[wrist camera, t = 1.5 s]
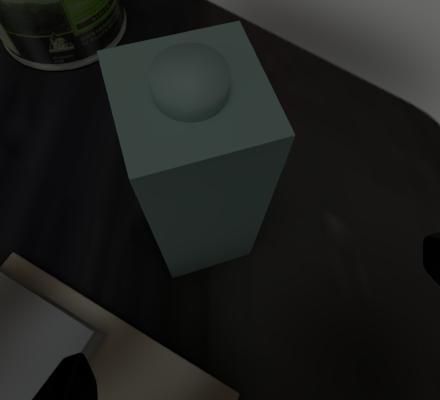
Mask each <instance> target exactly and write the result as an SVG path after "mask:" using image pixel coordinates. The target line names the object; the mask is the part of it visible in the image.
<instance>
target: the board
mask: <svg viewBox="0 0 440 400" xmlns="http://www.w3.org/2000/svg"><path fill="white" fill-rule="evenodd" d="M79 352H81V353H83V354H84V355H85V357H86V359H87V361H88V363H89V365H90V367H91V369H92V372H93V374H94V376H95V378H96V382H97V391H98V400H238V397H239V395H240V394H239V393H238V392H237V391H235V390H234V389H232V388H230V387H229V386H227V385H226V384H224V383H222V382H221V381H219V380H218V379H216V378H214V377H213V376H211V375H210V374H208V373H206V372H205V371H203V370H202V369H200V368H198V367H197V366H195V365H194V364H192V363H190V362H189V361H187V360H186V359H184V358H182V357H181V356H179V355H178V354H176V353H174V352H173V351H171V350H170V349H168V348H166V347H165V346H163V345H162V344H160V343H158V342H157V341H155V340H154V339H152V338H150V337H149V336H147V335H146V334H144V333H142V332H141V331H139V330H138V329H136V328H134V327H133V326H131V325H130V324H128V323H126V322H125V321H123V320H122V319H120V318H118V317H117V316H115V315H114V314H112V313H110V312H109V311H107V310H106V309H104V308H102V307H101V306H99V305H98V304H96V303H94V302H93V301H91V300H90V299H88V298H86V297H85V296H83V295H82V294H80V293H78V292H77V291H75V290H74V289H72V288H70V287H69V286H67V285H66V284H64V283H62V282H61V281H59V280H58V279H56V278H54V277H53V276H51V275H50V274H48V273H46V272H45V271H43V270H42V269H40V268H38V267H37V266H35V265H34V264H32V263H31V262H29V261H27V260H26V259H24V258H22V257H21V256H19V255H17V254H15V253H12V254H11V255H10V256H9V258H8V259H7V260H6V261H5V262H4V264H3V265H2V266H1V267H0V400H32V399H33V397H34V396H35V395H36V394H37V392H38V391H39V390H40V388H41V387H42V386H43V384H44V383H45V382H46V380H47V379H48V378H49V376H50V375H51V374H52V372H53V371H54V370H55V368H56V367H57V366H58V364H59V363H60V362H61V360H62V359H63V358H65V357H67V356H70V355H73V354H76V353H79Z"/></svg>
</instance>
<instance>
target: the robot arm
mask: <svg viewBox="0 0 440 400" xmlns="http://www.w3.org/2000/svg"><path fill="white" fill-rule="evenodd" d="M423 265H424V268H425V270H426V271H427V273H428V274H429V275H430V276H431V277H432V278H433V279H434V280H435V281H436V282H437V283H438V284H439V285H440V232H439V233H435V234H432V235H429V236H427V237H425V239H424V241H423ZM32 400H98V391H97V382H96V378H95V376H94V374H93V372H92V369H91V367H90V365H89V363H88V361H87V359H86V357H85V355H84V354H83V353H81V352H79V353H76V354H73V355H70V356H67V357H65V358H63V359H62V360H61V362H60V363H59V364H58V366H57V367H56V368H55V370H54V371H53V372H52V374H51V375H50V376H49V378H48V379H47V380H46V382H45V383H44V384H43V386H42V387H41V388H40V390H39V391H38V392H37V394H36V395H35V396H34V397H33V399H32Z"/></svg>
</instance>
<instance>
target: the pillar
mask: <svg viewBox="0 0 440 400" xmlns="http://www.w3.org/2000/svg"><path fill="white" fill-rule="evenodd" d="M97 54H98V58H99V62H100V66H101V70H102V74H103V78H104V82H105V86H106V90H107V94H108V97H109V101H110V105H111V109H112V113H113V117H114V121H115V125H116V129H117V133H118V137H119V141H120V145H121V149H122V153H123V157H124V161H125V165H126V168H127V172H128V176H129V180H130V182H131V185H132V187H133V189H134V191H135V194H136V196H137V198H138V200H139V203H140V205H141V207H142V210H143V212H144V214H145V216H146V219H147V221H148V223H149V225H150V228H151V230H152V232H153V234H154V237H155V239H156V241H157V244H158V246H159V248H160V250H161V253H162V255H163V257H164V259H165V262H166V264H167V266H168V268H169V271H170V273H171V275H172V277H173V278H175V277H178V276H181V275H185V274H188V273H191V272H194V271H197V270H200V269H204V268H207V267H210V266H213V265H216V264H219V263H223V262H226V261H229V260H232V259H235V258H238V257H242V256H245V255H248V254H250V253H251V250H252V247H253V245H254V242H255V240H256V237H257V234H258V232H259V229H260V226H261V224H262V221H263V219H264V216H265V213H266V211H267V208H268V205H269V203H270V200H271V198H272V195H273V192H274V190H275V187H276V184H277V182H278V179H279V177H280V174H281V171H282V169H283V166H284V163H285V161H286V158H287V156H288V153H289V150H290V148H291V145H292V142H293V140H294V137H295V134H294V132H293V130H292V128H291V126H290V124H289V121H288V119H287V117H286V115H285V113H284V111H283V109H282V107H281V105H280V103H279V101H278V99H277V97H276V95H275V93H274V91H273V89H272V87H271V84H270V82H269V80H268V78H267V76H266V74H265V72H264V70H263V68H262V66H261V64H260V62H259V60H258V58H257V56H256V54H255V52H254V50H253V47H252V45H251V43H250V41H249V39H248V37H247V35H246V33H245V31H244V29H243V27H242V25H241V23H240V21H236V22H232V23H227V24H222V25H217V26H213V27H208V28H203V29H198V30H194V31H189V32H184V33H179V34H175V35H170V36H165V37H160V38H156V39H151V40H146V41H142V42H137V43H132V44H127V45H123V46H118V47H113V48H108V49H104V50H99V51H97Z"/></svg>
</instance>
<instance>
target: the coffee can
mask: <svg viewBox="0 0 440 400" xmlns="http://www.w3.org/2000/svg"><path fill="white" fill-rule="evenodd" d="M126 25H127V18H126V13H125V10H124V7H123V5H122V0H0V38H1V40H2V42H3V44H4V46H5V48H6V49H7V51H8V52H9V53H10V54H11V55H12V56H13V57H14V58H15V59H16V60H18V61H19V62H21V63H22V64H24V65H27V66H30V67H33V68H36V69H41V70H47V71H64V70H72V69H77V68H80V67H84V66H87V65H90V64H92V63H94V62H96V61H98V60H99V58H98V54H97V51H99V50H104V49H108V48H113V47H116V46H117V45H118V43H119V42H120V40H121V39H122V37H123V35H124V33H125V30H126Z"/></svg>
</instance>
